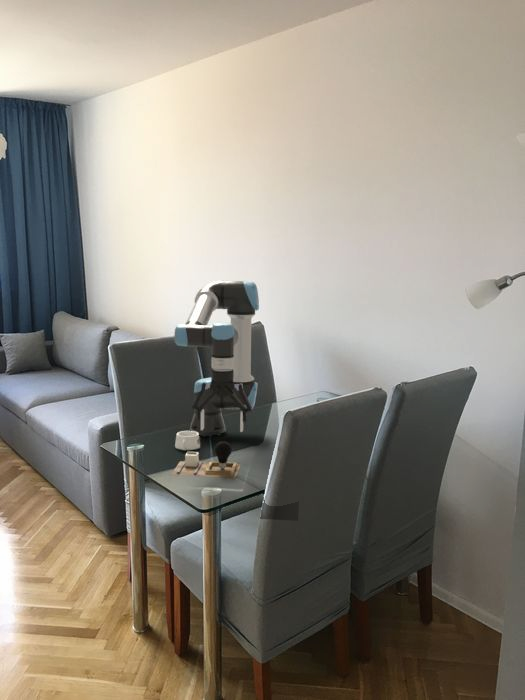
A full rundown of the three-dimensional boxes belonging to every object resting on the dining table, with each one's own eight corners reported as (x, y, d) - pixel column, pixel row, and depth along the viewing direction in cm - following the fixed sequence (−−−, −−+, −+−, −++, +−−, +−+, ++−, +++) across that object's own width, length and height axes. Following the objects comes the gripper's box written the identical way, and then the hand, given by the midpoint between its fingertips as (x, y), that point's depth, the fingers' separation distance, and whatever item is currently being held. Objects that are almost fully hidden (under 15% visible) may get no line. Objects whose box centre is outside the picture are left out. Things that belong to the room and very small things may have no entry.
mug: (179, 444, 238) (179, 429, 237) (202, 445, 237) (202, 430, 236) (170, 453, 226) (170, 437, 225) (195, 454, 225) (195, 439, 224)
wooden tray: (180, 463, 215) (180, 457, 214) (240, 466, 213) (240, 460, 213) (171, 476, 201) (171, 471, 200) (236, 479, 199) (236, 474, 199)
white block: (187, 462, 213) (187, 450, 212) (198, 463, 212) (198, 450, 212) (185, 466, 209) (185, 453, 208) (196, 466, 208) (196, 454, 208)
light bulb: (211, 470, 205) (212, 442, 203) (218, 465, 210) (219, 438, 209) (226, 473, 203) (227, 445, 201) (233, 468, 208) (234, 440, 207)
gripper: (183, 369, 199) (183, 431, 202) (258, 372, 197) (257, 434, 200) (188, 365, 206) (188, 425, 209) (260, 368, 204) (259, 428, 207)
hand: (221, 430), depth 205 cm, fingers open, 13 cm apart
